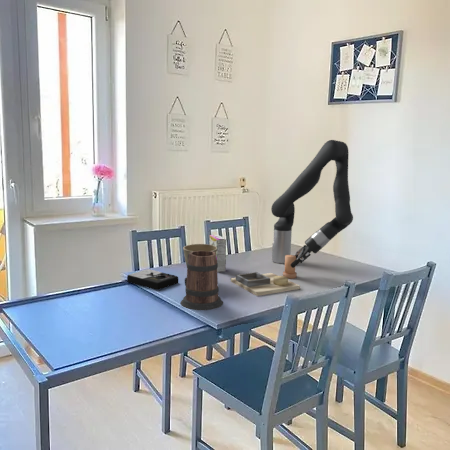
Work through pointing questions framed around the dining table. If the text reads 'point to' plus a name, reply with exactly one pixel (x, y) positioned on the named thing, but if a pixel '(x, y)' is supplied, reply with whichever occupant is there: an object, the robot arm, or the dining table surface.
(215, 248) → the plant pot
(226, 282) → the dining table surface
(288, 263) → the orange flanged cylinder
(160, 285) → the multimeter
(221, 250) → the candy bar box
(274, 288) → the carrier plate
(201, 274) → the tankard
